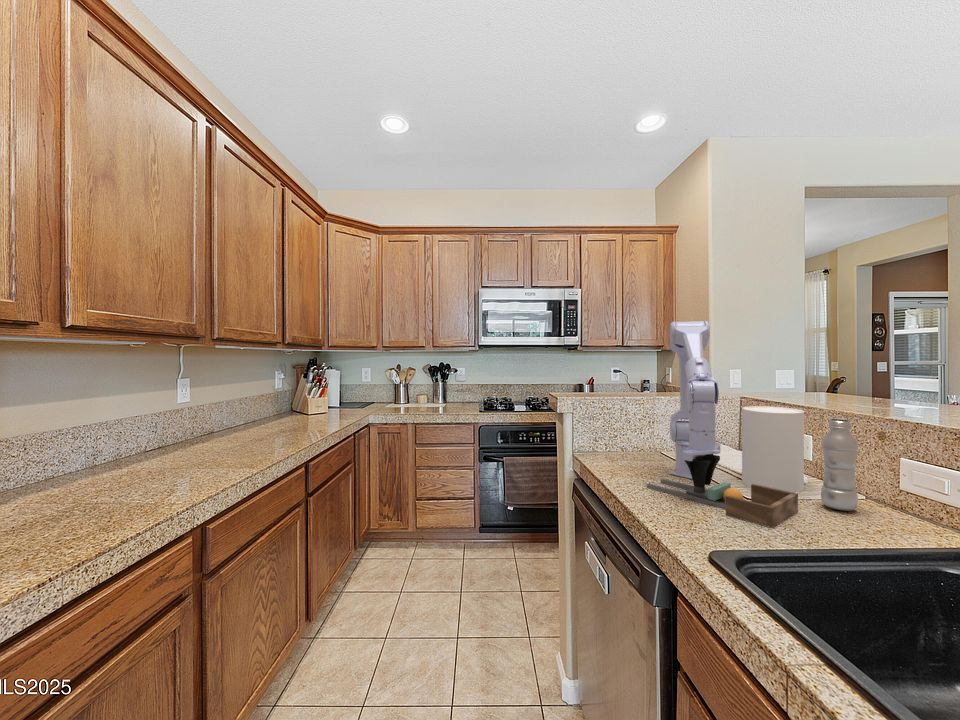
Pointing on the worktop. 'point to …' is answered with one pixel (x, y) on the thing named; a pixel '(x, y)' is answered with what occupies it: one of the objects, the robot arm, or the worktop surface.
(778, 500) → the box
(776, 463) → the canister
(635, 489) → the worktop surface
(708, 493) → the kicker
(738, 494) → the ball
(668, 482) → the guide rails
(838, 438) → the plastic bottle
